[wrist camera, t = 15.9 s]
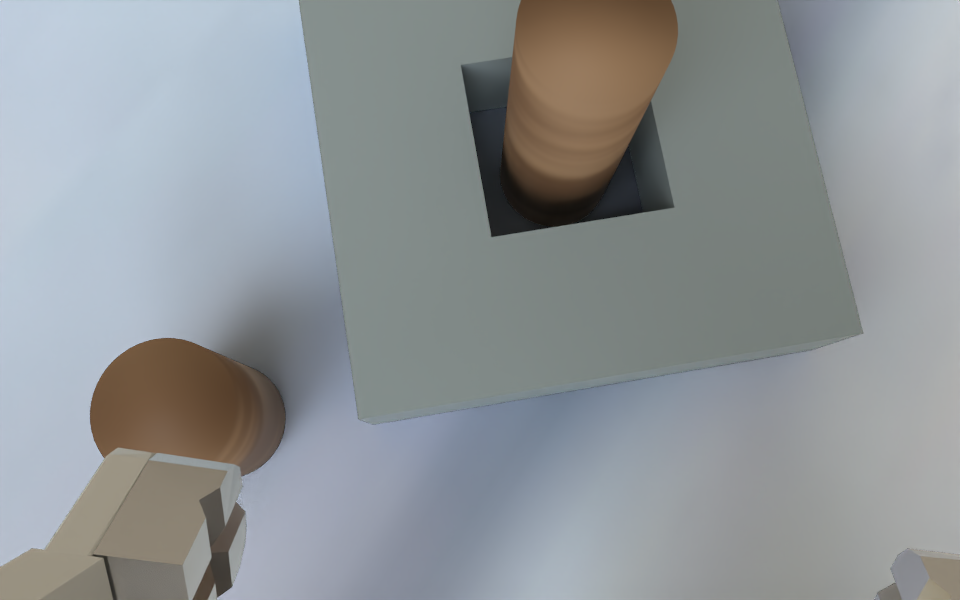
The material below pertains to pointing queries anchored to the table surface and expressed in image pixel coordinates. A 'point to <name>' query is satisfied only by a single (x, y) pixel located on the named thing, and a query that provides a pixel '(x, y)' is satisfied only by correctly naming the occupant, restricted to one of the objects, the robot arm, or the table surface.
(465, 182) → the bored board
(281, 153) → the table surface
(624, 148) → the long pin
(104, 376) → the short pin
